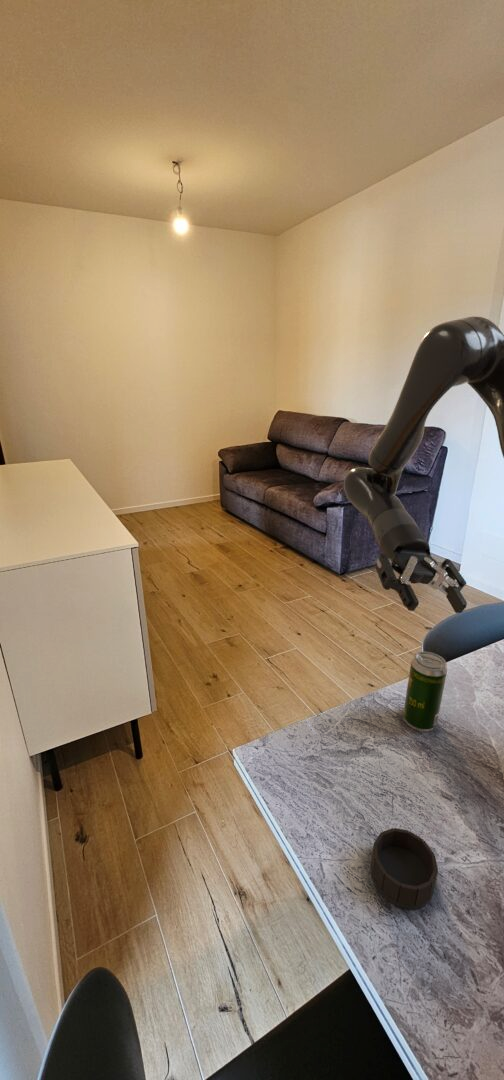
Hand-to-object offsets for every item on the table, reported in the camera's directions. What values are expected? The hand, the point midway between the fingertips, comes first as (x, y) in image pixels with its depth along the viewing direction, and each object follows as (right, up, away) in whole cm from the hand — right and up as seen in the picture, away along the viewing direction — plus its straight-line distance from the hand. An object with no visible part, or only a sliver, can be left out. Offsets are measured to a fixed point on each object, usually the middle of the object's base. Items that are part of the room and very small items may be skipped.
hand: (438, 608), depth 70 cm
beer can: (-1, -20, +6) cm, 21 cm away
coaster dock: (-12, -28, -18) cm, 35 cm away
